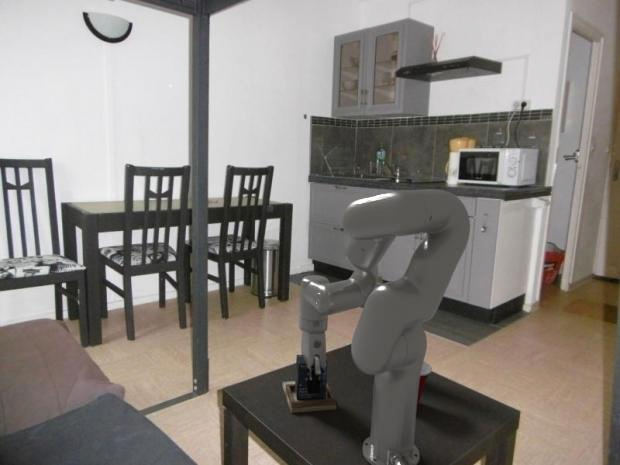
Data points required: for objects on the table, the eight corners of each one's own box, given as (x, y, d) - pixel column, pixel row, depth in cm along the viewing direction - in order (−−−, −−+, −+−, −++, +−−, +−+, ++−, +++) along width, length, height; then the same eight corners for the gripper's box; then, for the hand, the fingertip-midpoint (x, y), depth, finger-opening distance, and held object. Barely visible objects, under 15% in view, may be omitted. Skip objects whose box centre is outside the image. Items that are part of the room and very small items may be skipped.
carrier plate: (336, 409, 118) (336, 394, 118) (291, 412, 116) (291, 398, 115) (322, 382, 132) (323, 369, 132) (282, 385, 130) (282, 372, 129)
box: (296, 401, 118) (298, 363, 117) (294, 390, 124) (296, 354, 122) (326, 400, 119) (328, 362, 118) (322, 389, 125) (324, 353, 123)
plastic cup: (429, 418, 116) (433, 375, 114) (387, 412, 118) (390, 369, 116) (427, 397, 126) (431, 357, 124) (388, 392, 128) (391, 352, 126)
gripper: (336, 334, 111) (332, 402, 114) (319, 311, 128) (316, 371, 130) (306, 336, 109) (303, 404, 112) (293, 312, 126) (291, 372, 129)
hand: (310, 386), depth 121 cm, fingers closed on box, 5 cm apart
